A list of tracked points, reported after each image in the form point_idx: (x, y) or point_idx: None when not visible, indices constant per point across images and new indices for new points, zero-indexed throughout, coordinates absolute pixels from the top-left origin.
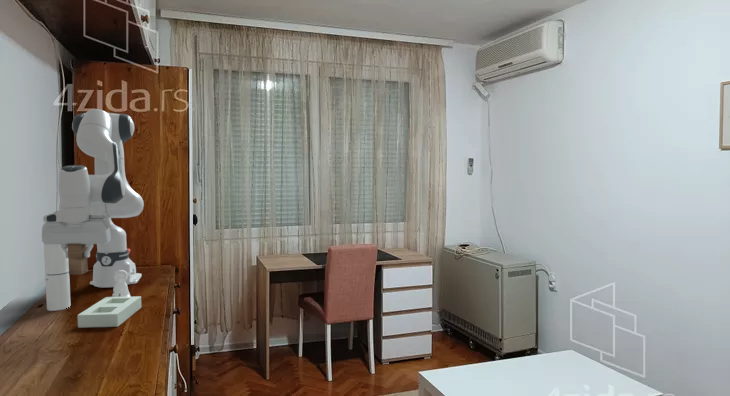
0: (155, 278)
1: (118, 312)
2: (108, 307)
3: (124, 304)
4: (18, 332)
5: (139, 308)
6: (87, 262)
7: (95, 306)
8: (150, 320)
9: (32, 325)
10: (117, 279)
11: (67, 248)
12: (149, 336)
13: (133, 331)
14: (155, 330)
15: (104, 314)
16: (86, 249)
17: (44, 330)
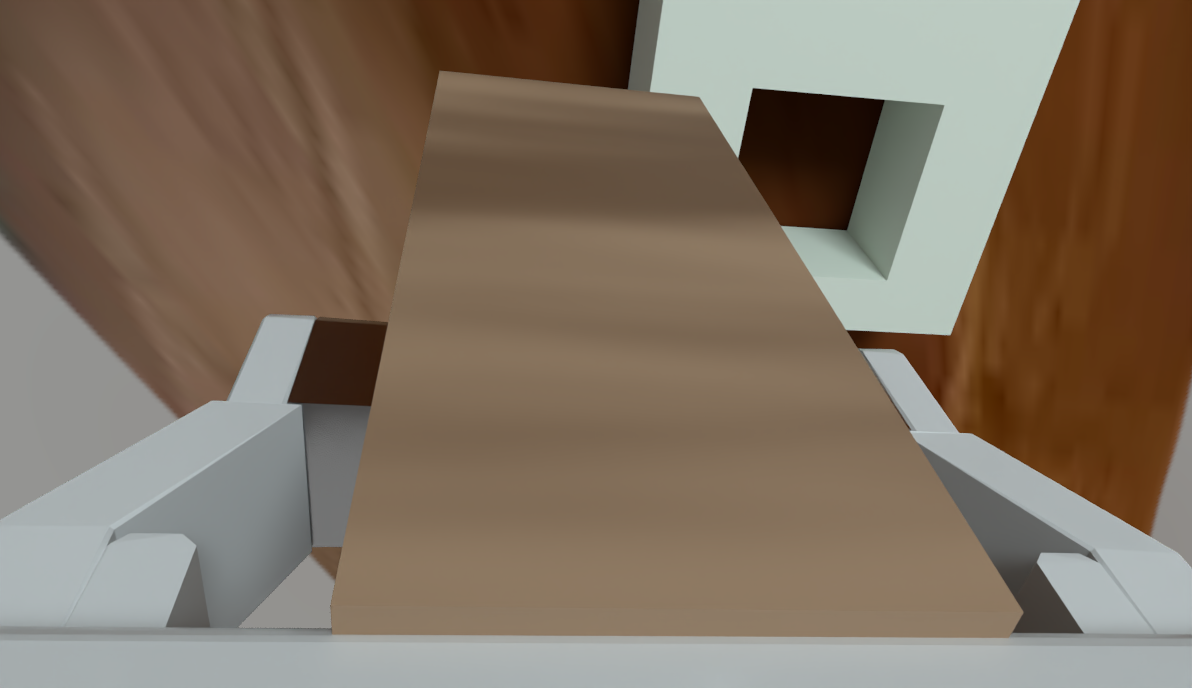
0: None
1: (956, 293)
2: (845, 95)
3: (1006, 27)
4: (168, 309)
5: None
6: (745, 172)
7: (706, 55)
8: (1150, 169)
9: (156, 147)
10: None
11: (200, 533)
12: (1100, 474)
13: (1013, 387)
14: (1149, 386)
15: (845, 328)
16: (859, 389)
17: (359, 291)
